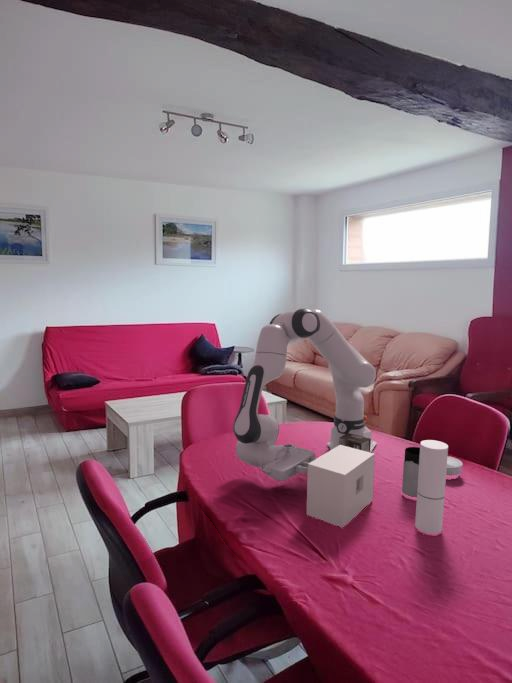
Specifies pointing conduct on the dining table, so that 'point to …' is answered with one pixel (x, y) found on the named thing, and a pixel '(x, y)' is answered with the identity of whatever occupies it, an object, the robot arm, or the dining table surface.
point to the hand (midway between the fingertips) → (312, 470)
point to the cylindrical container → (431, 486)
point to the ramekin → (453, 466)
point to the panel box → (340, 484)
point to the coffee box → (355, 442)
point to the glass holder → (411, 471)
